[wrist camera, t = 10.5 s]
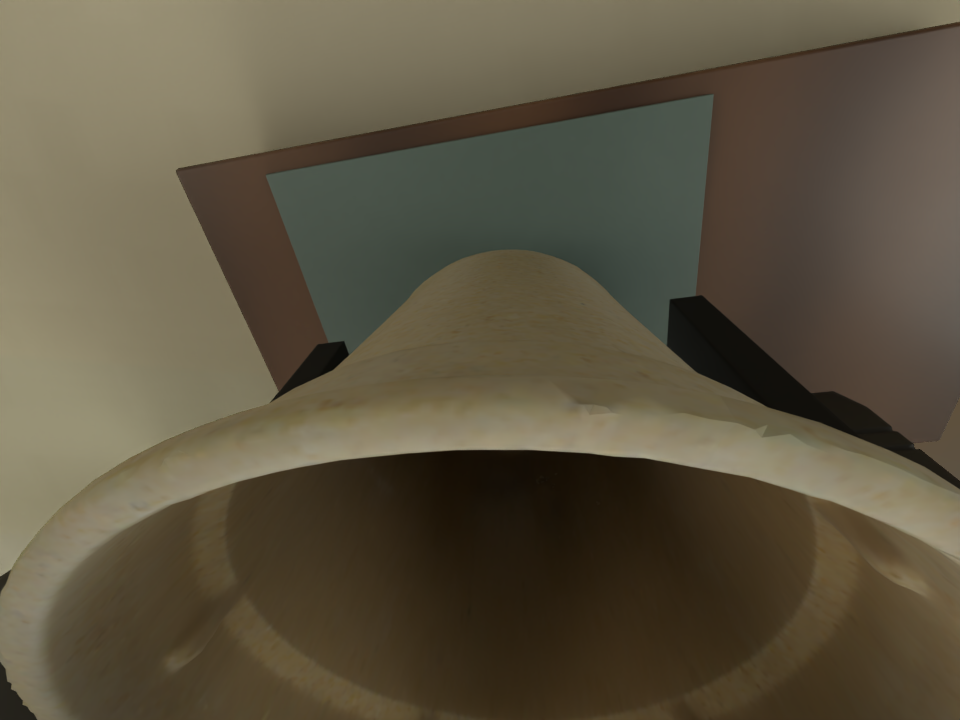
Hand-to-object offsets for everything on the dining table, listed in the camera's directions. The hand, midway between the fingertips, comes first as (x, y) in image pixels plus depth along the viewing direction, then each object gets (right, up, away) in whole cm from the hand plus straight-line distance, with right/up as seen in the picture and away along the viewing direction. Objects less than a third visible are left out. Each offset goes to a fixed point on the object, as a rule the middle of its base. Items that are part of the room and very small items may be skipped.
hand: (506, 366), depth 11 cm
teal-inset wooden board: (+3, +4, +6) cm, 8 cm away
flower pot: (0, 0, 0) cm, 1 cm away
